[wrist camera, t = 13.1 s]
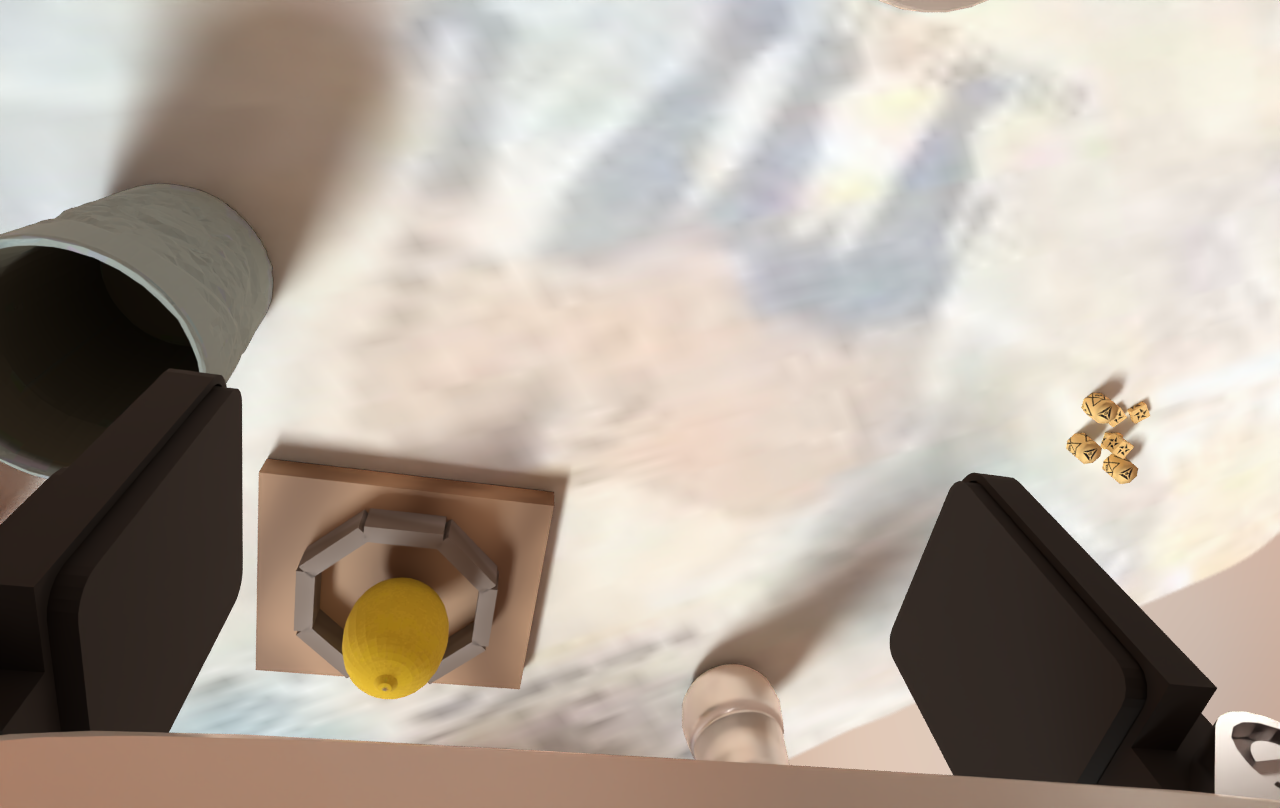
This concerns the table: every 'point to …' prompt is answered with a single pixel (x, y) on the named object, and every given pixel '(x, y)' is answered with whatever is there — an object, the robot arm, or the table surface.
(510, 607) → the holder
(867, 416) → the table surface
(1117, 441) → the dice set
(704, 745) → the plastic bottle
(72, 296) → the grey cup
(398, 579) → the lemon
